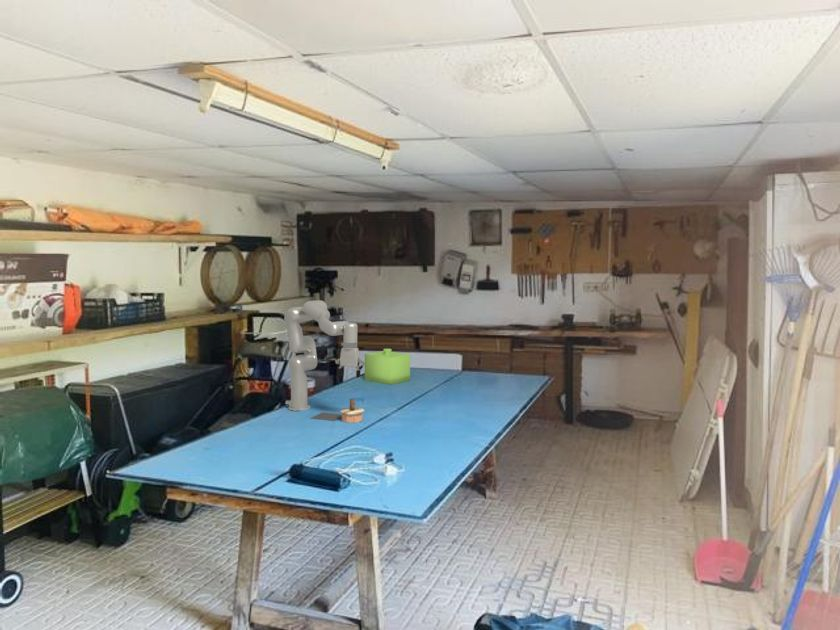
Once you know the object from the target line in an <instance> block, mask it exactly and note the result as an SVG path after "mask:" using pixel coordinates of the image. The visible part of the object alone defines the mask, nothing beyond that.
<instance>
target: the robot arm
mask: <svg viewBox="0 0 840 630" xmlns="http://www.w3.org/2000/svg"><path fill="white" fill-rule="evenodd" d="M330 317H331V313H330V311H329V310H328V305H327V303H326V302H325V301H324V300H320V299H319V300H318V299H317V300H309V301H307V302H306V301H305V303H304V304H303V306H294V307H290V308H289V309H287V310H286V311H285V313H284V317H283V318H284V324H285V327H286V330H287V331H286V332H287V338H288V346H289V350H290V352H291V353H292V354H298V355H294V356H292V357H291V358H290V359H289V362H288V366H289V372H290V400H287V399H286V400H285V405H288V410H290V411H295V412H299V411H300V412H301V411H305V410H306V411H307V410H309V409H310V408H311V406H310V405H308V376H307V374H306V373H305V372H306V371H311V370H315V369H316V368H317V366H318V354H317V346H316V342H315V340H314V338H313V337H312V336H309V335H304V334H303V328H302V326H301V325H300V323H299V322H309V321H312V320H314V321H316V322H317V323H318V327H319V329H320V330H321V332H324V333H325V334H326V335H328V336H332V337H334V336H335V337H336V336H343V337H342V338H343V341H342V342H341V343H340V344H341V345H340V346H342V347H341V350H340V357H339V358H338V359H335V360H334V362H335V364H336V366H337V367H338V369H339V377H343V376H344V372H345V371H344V370H345V369H344V367H349V368H356V372H355V373H356V376H355V378H360V377H361V370H362V369H363V368H365V361H364V360H362V359H360V351H359V347H358V324H357V323H356V322H350V321H346V320H343V321H342V320H339V321H331V320H330ZM300 353H303V354H300ZM360 364H361V365H360Z"/></svg>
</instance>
